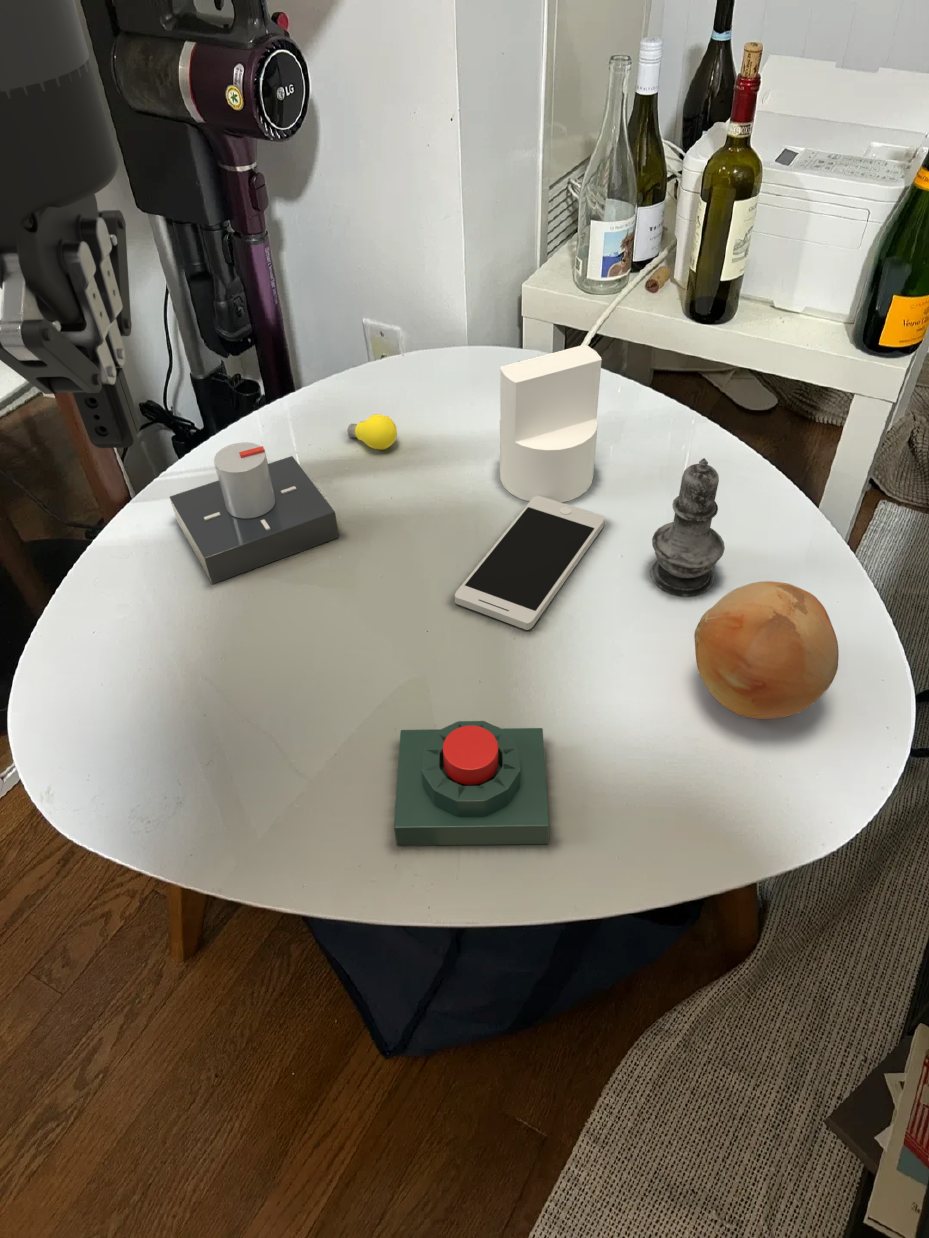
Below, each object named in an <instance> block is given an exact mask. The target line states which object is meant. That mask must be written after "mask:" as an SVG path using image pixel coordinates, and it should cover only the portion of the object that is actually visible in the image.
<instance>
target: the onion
mask: <svg viewBox="0 0 929 1238" xmlns="http://www.w3.org/2000/svg"><path fill="white" fill-rule="evenodd" d="M693 638H694V651H695V662H696V663H695V664H696V667H697V672H698V674H699V676H700V678H701V681H702V682H703V684H704V685H705V687H706V689H707V691H709V693H710V694H711V696H713V697H714V698H715V700H716V701H717V702H718V703H719V704H721V705H722V706H723V707H725V708H726V709H727V710H728V711H729V710H730V711H731V712H733V713H734V714H737V715H739V716H743V717H747V718H752V719H763V720H767V719H779V718H786V717H790V716H794V715H795V714H799V713H801V712H803V711H804V710H806V709H808V708H810V707H811V706H812V705H813V704H815V703H816V702H817V701H818V700H819V699H820V698H821V697H822V695H823V694H824V693H825V692H826V691H828V689H829V688H830V687H831V686H832V683H833V682H834V680H835V677H836V675H837V672H838V668H839V659H840V657H839V655H840V654H839V643H838V637H837V635H836V631H835V628H834V626H833V624H832V622H831V619H830V617H829V614H828V611H827V610H826V608H825V606H824V604H822V602H821V601H820V600H819V599H818V597H816V596H815V595H814V594H813V593H811V592H809V591H807V590H806V589H803V588H801V587H798V586H796V585H793V584H790V583H786V582H780V581H773V580H771V581H770V580H764V581H756V582H752V583H748V584H745V585H741V586H740V587H737V588H735V589H733V590H730V591H729V592H728V593H727V594H725V595H723V596H722V597H721V598H720V599H719V600H718V601H717V602H716V603H715V604H714V605H712V607H710V608H709V609H707V610H706V611H705V613H704V614H703V615H702V616H701V618H700V619H699V621H698V623H697V625H696V628H695V630H694V637H693Z"/></svg>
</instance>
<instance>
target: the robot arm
mask: <svg viewBox="0 0 929 1238" xmlns="http://www.w3.org/2000/svg"><path fill="white" fill-rule="evenodd" d="M90 55H91V54H90V52H89V48H88V45H87V41H86V38H85V34H84V31H83V26H82V24H81V20H80V16H79V13H78V8H77V6H76V1H75V0H0V289H1V306H0V309H1V310H0V361H1V362H2V363H3V364H4V365H6V366H7V367H9V368H10V369H11V370H13V371H14V372H15V373H16V374H18V375H19V376H20V377H22V379H24V380H25V381H27V382H28V383H29V384H31V385H32V386H34V387H35V388H36V389H37V390H39V391H40V392H41V393H43V394H45V395H56V394H59V393H62V394H64V393H66V394H67V393H71V394H72V396H73V398H74V402H75V404H76V406H77V409H78V412H79V415H80V418H81V420H82V423H83V426H84V428H85V431H86V433H87V436H88V439H89V441H90V443H91V444H92V445H93V446H94V447H97V448H98V449H99V448H100V449H123V448H125V449H127V448H130V447H132V446H133V445H134V442H135V440H136V438H137V436H138V434H139V432H140V429H141V421H140V418H139V416H138V412H137V410H136V409H137V408H136V406H135V404H134V400H133V397H132V393H131V391H130V387H129V385H128V381H127V378H126V375H125V371H124V368H123V367H124V366H125V364H126V358H127V357H126V356H127V353H126V350H125V346H124V343H123V339H122V337H130V336H131V334H132V327H133V325H132V314H131V299H130V295H131V294H130V281H129V280H130V279H129V278H130V277H129V262H128V247H127V245H128V244H127V228H126V227H127V224H126V219H125V217H124V213H122V210H120V209H105V210H104V209H103V210H100V209H99V208H98V201H97V197H96V194H97V193H99V192H101V191H102V190H103V189H105V188H106V187H108V185H109V184H110V183H111V182H112V181H113V180H114V178H115V176H116V174H117V172H118V169H119V157H118V154H117V150H116V146H115V143H114V140H113V135H112V132H111V128H110V125H109V121H108V117H107V113H106V110H105V106H104V103H103V99H102V96H101V93H100V89H99V84H98V80H97V78H96V77H97V76H96V74H95V70H94V67H93V63H92V59H91V56H90Z"/></svg>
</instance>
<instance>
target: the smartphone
mask: <svg viewBox="0 0 929 1238" xmlns="http://www.w3.org/2000/svg"><path fill="white" fill-rule="evenodd" d="M605 518H606V517H605V515H603V514H600V513H596V512H593V511H589V510H586V509H583V508H580V507H577V506H573V505H571V504H567V503H565V502H558V501H555V500H551V499H548V498H545V497H542V496H539V495H537V496H534V497H533V498H532V499H531V500H530V502H529V501H528V502H527V504H526V505H525V506H524V508H523V509H522V510H521V512H520V513H519V514H518V515H517V516H516V518H515V519H513V521H512V522H511V523H510V525H508V528H506V530H505V531H504V532H503V534H502V535H501V536H500V537H499V538H498V540H497V541H496V542H495V543H494V545H492V547H491V548H490V549H489V550H488V552H487V553H486V554H485V555H484V557H483V558H482V559H481V560H480V562H479V563H478V564H477V565H476V567H475V568H474V569H473V570H472V572H471V573H470V574H469V575H468V576H467V578H466V579H465V580H464V581H463V583H462V584H461V585H460V586H459V587H458V588H457V590H456V591H455V593H454V603H455V604H456V605H459V606H461V607H463V608H466V609H469V610H471V611H473V612H477V613H480V614H483V615H485V616H488V617H490V618H494V619H496V620H498V621H502V622H504V623H507V624H510V625H512V626H514V627H517V628H520V629H523V630H525V631H526V630H527V631H530V630H531V629H532V628H533V627H534V626H535V624H536V623H537V622H538V620H539V619H540V617H541V616H542V615H543V613H544V612H545V611H546V609H547V607H548V606H549V604H550V603H551V602H552V600H554V598H555V596H556V595H557V593H558V592H559V590H560V589H561V588H562V586H563V585H564V583H565V582H566V580H567V579H568V578H569V576H570V575H571V573H572V572H573V571H574V569H575V568H576V566H577V565H578V563H579V562H580V561H581V559H582V558H583V557H584V555H585V554H586V552H587V551H588V549H589V548H590V547H591V545H592V544H593V542H594V541H595V539H596V538H597V537H598V535H599V534H600V532H601V531H602V529H603V528H604V527H605Z"/></svg>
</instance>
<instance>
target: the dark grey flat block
mask: <svg viewBox="0 0 929 1238" xmlns="http://www.w3.org/2000/svg"><path fill="white" fill-rule="evenodd" d="M268 466H269V471H270V475H271V480H272V485H273V489H274V494H275V499H276V501H275V505H274V506H273V508H272V509H271V510H270V511H269V512H267V513H266V514H264V515H261V516H259V517H255V518H248V519H244V518H238V517H235V516H232V515H231V514H230V513H229V512H228V511H227V509H226V506H225V502H224V498H223V494H222V490H221V487H220V483H219V479H217V480H215V481H212V482H210V483H206V484H204V485H200V486H197V487H194V488H191V489H188V490H185V491H182V492H179V493H176V494H173V495H170V496H169V500H170V503H171V507H172V510H173V512H174V517H175V519H176V522H177V524H178V525H179V528H180V529H181V531H182V533H183V535H184V537H185V539H186V540H187V542H188V544H189V545H190V548H191V549H192V552H194V554H195V556H196V558H197V560H198V561H199V563H200V566H201V567H202V569H203V571H204V572H205V574H206V576H207V578H208V579H209V581H210V583H211V584H212V585H215V584H217V583H220V582H223V581H225V580H228V579H231V578H233V577H235V576H239V575H242V574H244V573H246V572H249V571H252V570H255V569H258V568H260V567H263V566H265V565H268V564H272V563H274V562H276V561H279V560H282V559H284V558H287V557H290V556H292V555H296V554H299V553H301V552H303V551H307V550H309V549H311V548H314V547H318V546H320V545H322V544H325V543H328V542H331V541H333V540H336V539H338V538H340V534H339V533H340V532H339V528H338V522H337V515H336V511H335V510H334V508H333V507H332V505H331V504H330V503H329V502H328V501H327V499H326V498H325V497H324V495H323V493H321V491H320V490H319V488H317V486H316V485H315V484H314V482H313V481H312V480H311V478H310V476H308V474H307V473H306V472H305V470H304V469H303V468H302V467H301V465H300V464H299V462H297V460H296V459H295V457H294V456H293V455H290V456H288V457H284V458H281V459H278V460H275V461H272V462H270V463H268Z"/></svg>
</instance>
